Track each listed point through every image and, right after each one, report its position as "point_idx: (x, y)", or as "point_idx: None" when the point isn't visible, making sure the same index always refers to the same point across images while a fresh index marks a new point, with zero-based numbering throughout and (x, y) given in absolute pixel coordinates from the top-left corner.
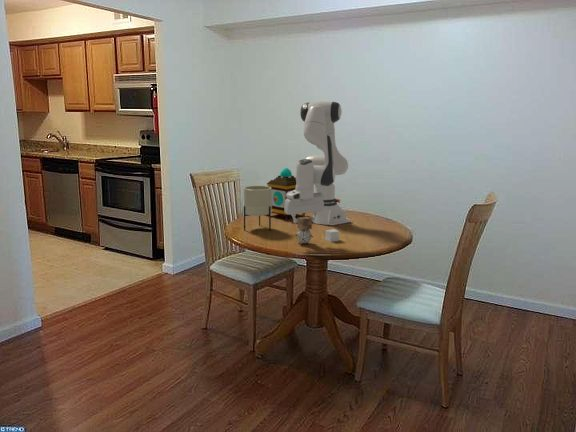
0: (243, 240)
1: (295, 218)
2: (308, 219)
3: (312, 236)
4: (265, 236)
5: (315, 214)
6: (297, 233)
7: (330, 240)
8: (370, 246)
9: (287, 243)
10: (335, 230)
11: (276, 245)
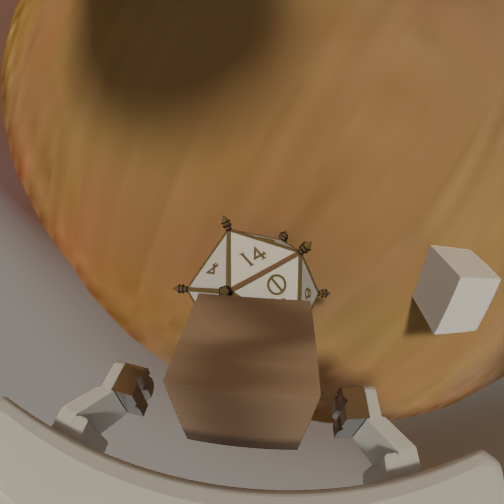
0: (11, 81)
1: (114, 418)
2: (257, 445)
3: (323, 296)
4: (109, 11)
5: (373, 463)
6: (195, 292)
7: (415, 301)
8: (447, 384)
9: (161, 208)
10: (481, 309)
11: (95, 219)
